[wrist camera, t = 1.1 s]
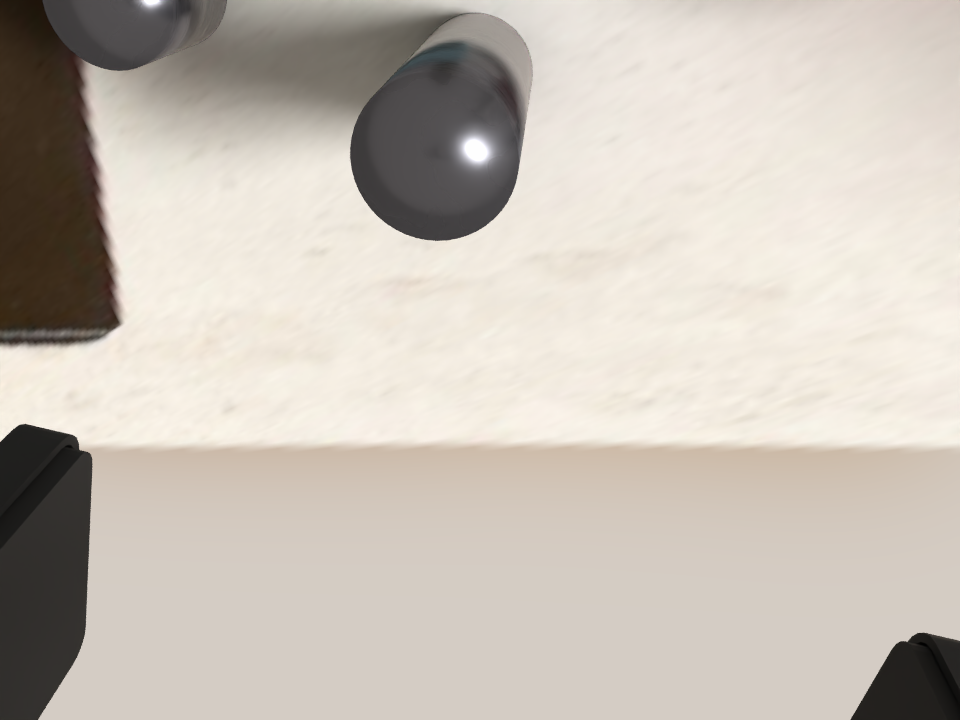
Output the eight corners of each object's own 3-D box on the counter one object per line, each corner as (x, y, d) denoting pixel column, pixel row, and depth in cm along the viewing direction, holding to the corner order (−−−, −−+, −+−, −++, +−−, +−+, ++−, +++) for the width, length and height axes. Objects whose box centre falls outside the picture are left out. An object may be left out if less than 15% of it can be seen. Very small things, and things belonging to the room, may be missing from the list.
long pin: (434, -1, 31) (368, 50, 21) (546, 31, 31) (539, 99, 21) (408, 113, 33) (336, 216, 22) (515, 143, 33) (494, 259, 23)
